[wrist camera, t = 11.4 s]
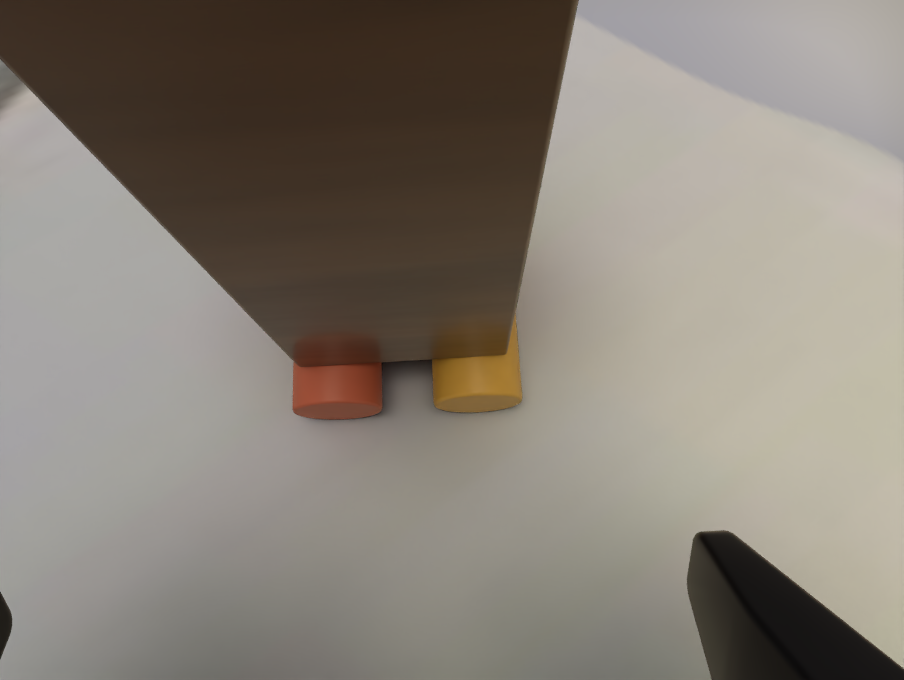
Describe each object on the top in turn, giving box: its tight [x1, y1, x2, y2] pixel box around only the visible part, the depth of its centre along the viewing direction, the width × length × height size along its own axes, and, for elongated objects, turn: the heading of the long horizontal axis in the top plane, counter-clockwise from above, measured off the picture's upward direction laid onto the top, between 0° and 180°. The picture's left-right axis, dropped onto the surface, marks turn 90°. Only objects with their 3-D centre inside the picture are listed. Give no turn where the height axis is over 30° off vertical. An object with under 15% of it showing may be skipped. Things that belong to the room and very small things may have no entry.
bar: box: [0, 0, 579, 367], centre depth 12 cm, size 4×5×12 cm
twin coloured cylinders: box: [293, 313, 522, 419], centre depth 19 cm, size 6×6×2 cm
